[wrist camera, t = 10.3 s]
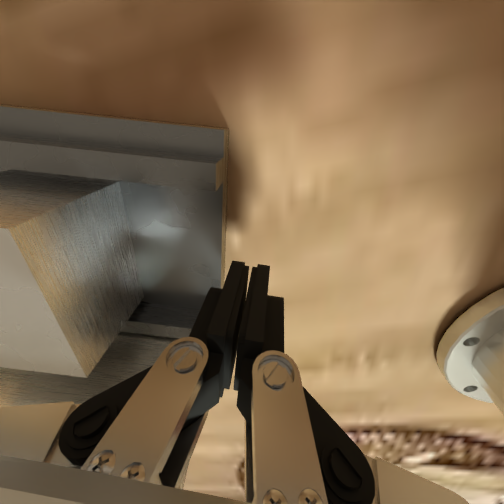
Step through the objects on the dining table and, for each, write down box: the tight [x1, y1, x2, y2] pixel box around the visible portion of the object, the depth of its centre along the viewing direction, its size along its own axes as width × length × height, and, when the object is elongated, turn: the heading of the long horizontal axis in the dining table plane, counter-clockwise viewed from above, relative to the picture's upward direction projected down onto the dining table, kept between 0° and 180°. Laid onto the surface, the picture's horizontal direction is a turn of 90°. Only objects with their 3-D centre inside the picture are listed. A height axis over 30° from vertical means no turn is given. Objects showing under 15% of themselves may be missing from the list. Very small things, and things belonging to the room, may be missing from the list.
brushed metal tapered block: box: [0, 170, 144, 378], centre depth 10 cm, size 6×7×5 cm
